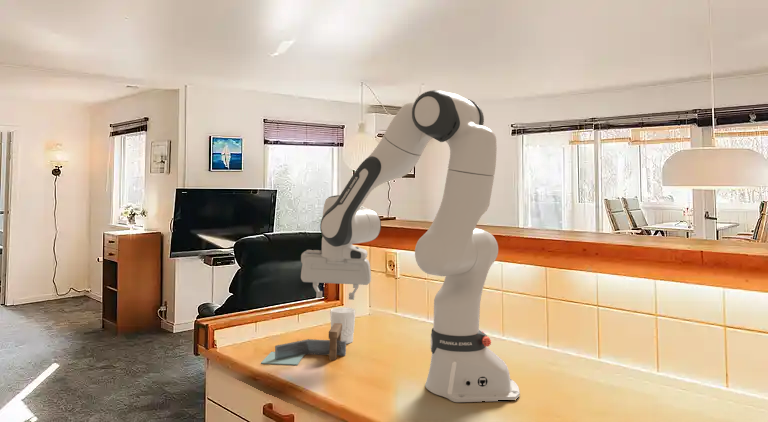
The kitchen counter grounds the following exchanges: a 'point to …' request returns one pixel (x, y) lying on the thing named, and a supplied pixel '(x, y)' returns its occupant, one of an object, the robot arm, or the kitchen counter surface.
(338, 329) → the arch
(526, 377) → the kitchen counter surface
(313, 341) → the rail
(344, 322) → the white cup
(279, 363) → the pad
